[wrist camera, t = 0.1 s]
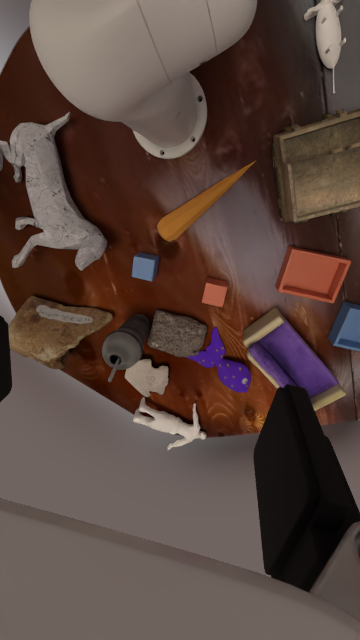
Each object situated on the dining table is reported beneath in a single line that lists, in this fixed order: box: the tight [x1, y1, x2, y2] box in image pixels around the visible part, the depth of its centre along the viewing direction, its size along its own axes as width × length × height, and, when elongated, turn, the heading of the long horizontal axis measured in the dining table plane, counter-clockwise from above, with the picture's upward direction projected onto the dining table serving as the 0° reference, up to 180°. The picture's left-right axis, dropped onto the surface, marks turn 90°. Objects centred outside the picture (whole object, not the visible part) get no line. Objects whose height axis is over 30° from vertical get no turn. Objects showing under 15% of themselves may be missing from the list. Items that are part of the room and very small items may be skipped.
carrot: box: [157, 161, 255, 242], centre depth 51 cm, size 20×4×4 cm, turn 127°
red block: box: [202, 277, 227, 307], centre depth 57 cm, size 4×4×4 cm
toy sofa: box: [243, 307, 346, 411], centre depth 57 cm, size 21×9×10 cm, turn 43°
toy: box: [186, 327, 251, 392], centre depth 63 cm, size 14×10×5 cm
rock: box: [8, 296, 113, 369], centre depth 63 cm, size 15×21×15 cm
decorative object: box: [125, 359, 169, 397], centre depth 68 cm, size 12×4×10 cm
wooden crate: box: [271, 109, 360, 225], centre depth 43 cm, size 15×14×11 cm
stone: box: [147, 310, 207, 357], centre depth 62 cm, size 12×9×4 cm
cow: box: [304, 0, 346, 95], centre depth 41 cm, size 12×5×5 cm, turn 20°
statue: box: [0, 111, 107, 270], centre depth 51 cm, size 27×13×20 cm
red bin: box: [276, 246, 351, 303], centre depth 53 cm, size 8×10×4 cm
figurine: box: [133, 397, 206, 450], centre depth 71 cm, size 17×5×18 cm
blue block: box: [132, 252, 159, 281], centre depth 57 cm, size 4×4×4 cm
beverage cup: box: [102, 314, 150, 382], centre depth 55 cm, size 7×7×20 cm
